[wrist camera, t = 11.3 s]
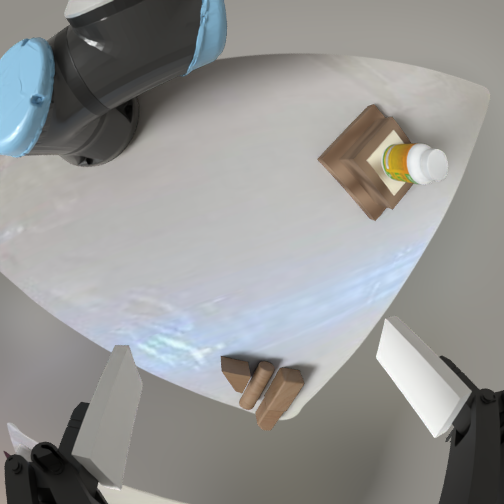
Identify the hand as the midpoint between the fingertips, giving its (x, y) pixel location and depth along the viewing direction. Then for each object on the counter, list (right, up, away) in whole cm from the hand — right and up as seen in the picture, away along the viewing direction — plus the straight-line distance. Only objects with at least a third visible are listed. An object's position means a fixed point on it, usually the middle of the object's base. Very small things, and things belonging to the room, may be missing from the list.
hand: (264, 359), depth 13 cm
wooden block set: (-1, -24, +41) cm, 48 cm away
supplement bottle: (+20, +18, +22) cm, 35 cm away
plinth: (+19, +20, +29) cm, 40 cm away
